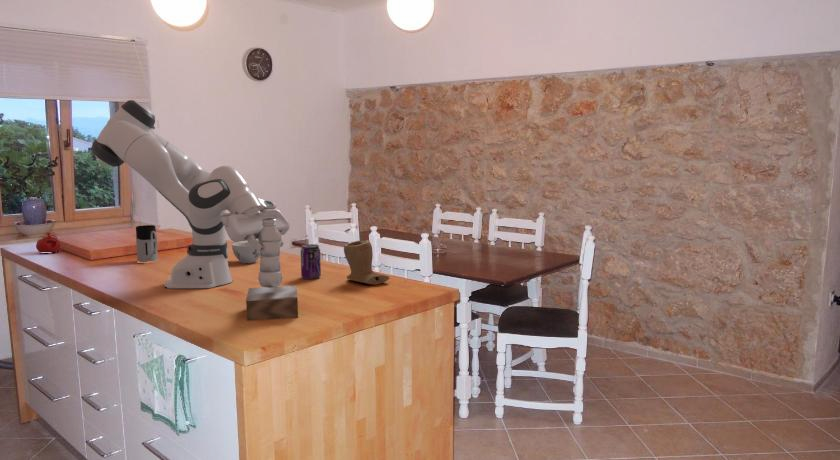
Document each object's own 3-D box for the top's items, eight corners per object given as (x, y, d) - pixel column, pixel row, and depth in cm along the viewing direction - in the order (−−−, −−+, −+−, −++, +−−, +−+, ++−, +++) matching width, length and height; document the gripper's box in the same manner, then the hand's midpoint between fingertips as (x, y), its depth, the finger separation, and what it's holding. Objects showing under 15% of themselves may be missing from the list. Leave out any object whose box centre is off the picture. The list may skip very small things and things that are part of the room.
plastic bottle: (261, 284, 181) (258, 217, 178) (284, 284, 181) (282, 217, 178) (256, 289, 174) (254, 220, 172) (280, 289, 175) (278, 220, 172)
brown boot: (337, 281, 219) (337, 240, 217) (364, 276, 227) (364, 236, 225) (363, 288, 208) (362, 245, 206) (390, 283, 216) (390, 241, 214)
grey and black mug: (154, 259, 263) (151, 224, 261) (168, 263, 253) (166, 227, 251) (133, 261, 257) (130, 226, 255) (146, 266, 247) (144, 229, 245)
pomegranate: (31, 254, 275) (29, 234, 274) (48, 250, 285) (46, 231, 284) (51, 255, 274) (48, 234, 272) (67, 250, 283) (65, 231, 282)
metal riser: (247, 320, 171) (246, 299, 170) (249, 307, 184) (248, 288, 184) (298, 317, 174) (297, 296, 173) (296, 304, 187) (296, 285, 187)
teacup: (270, 261, 257) (269, 242, 256) (246, 266, 247) (245, 247, 245) (246, 257, 265) (245, 239, 264) (222, 262, 255) (221, 243, 254)
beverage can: (316, 280, 221) (315, 247, 220) (298, 279, 223) (297, 246, 221) (323, 276, 228) (322, 244, 227) (305, 275, 230) (304, 243, 228)
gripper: (222, 207, 170) (247, 245, 166) (278, 201, 187) (302, 236, 183) (213, 221, 173) (237, 259, 169) (268, 215, 190) (291, 249, 186)
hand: (271, 247), depth 176 cm, fingers closed on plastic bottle, 6 cm apart
